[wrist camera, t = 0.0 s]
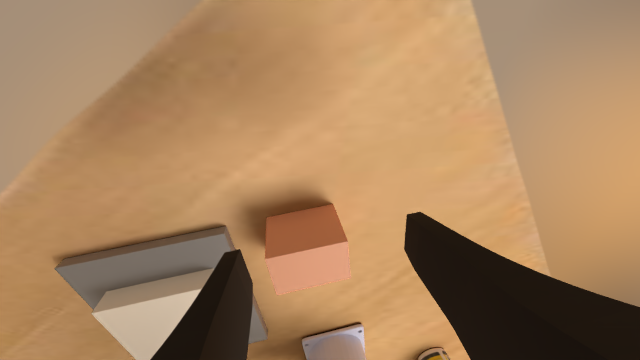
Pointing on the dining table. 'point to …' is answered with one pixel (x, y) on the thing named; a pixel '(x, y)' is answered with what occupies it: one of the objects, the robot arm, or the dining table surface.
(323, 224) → the brick
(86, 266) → the tower base
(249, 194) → the dining table surface
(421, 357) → the supplement bottle
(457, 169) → the dining table surface
